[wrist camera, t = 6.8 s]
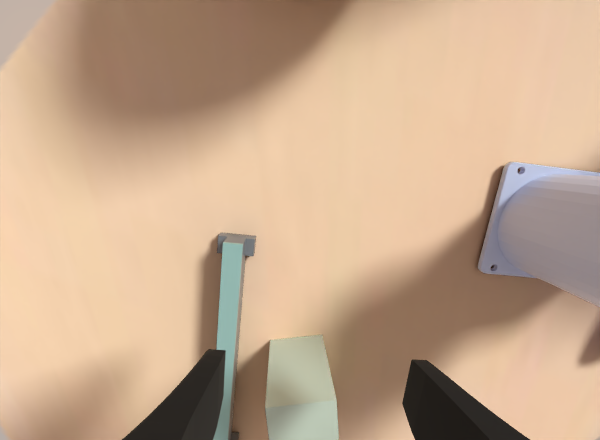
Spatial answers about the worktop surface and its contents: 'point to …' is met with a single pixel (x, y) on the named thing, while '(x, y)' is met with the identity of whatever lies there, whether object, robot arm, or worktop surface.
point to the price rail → (230, 319)
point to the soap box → (300, 391)
